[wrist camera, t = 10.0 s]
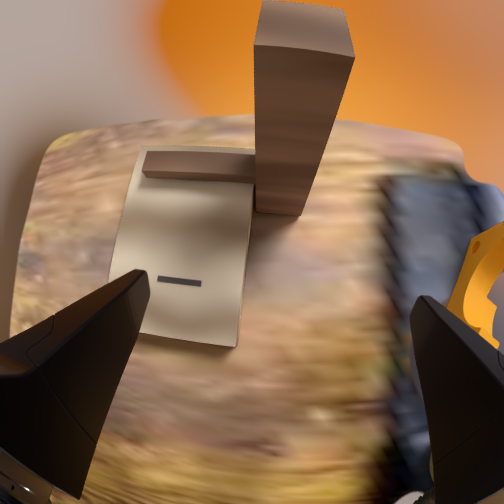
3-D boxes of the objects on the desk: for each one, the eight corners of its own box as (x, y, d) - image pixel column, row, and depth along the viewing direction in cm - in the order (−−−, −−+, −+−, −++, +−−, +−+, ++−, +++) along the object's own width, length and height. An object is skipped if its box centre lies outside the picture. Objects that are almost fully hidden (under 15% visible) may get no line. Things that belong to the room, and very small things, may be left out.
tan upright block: (300, 216, 24) (355, 57, 8) (153, 204, 24) (55, 67, 9) (302, 173, 25) (343, 9, 9) (163, 163, 25) (92, 19, 10)
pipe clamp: (455, 370, 21) (501, 376, 14) (425, 350, 21) (470, 352, 15) (495, 262, 23) (537, 245, 17) (470, 239, 24) (510, 217, 18)
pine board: (237, 344, 22) (235, 346, 19) (116, 325, 22) (101, 324, 20) (257, 165, 26) (257, 148, 23) (149, 160, 26) (140, 145, 23)
